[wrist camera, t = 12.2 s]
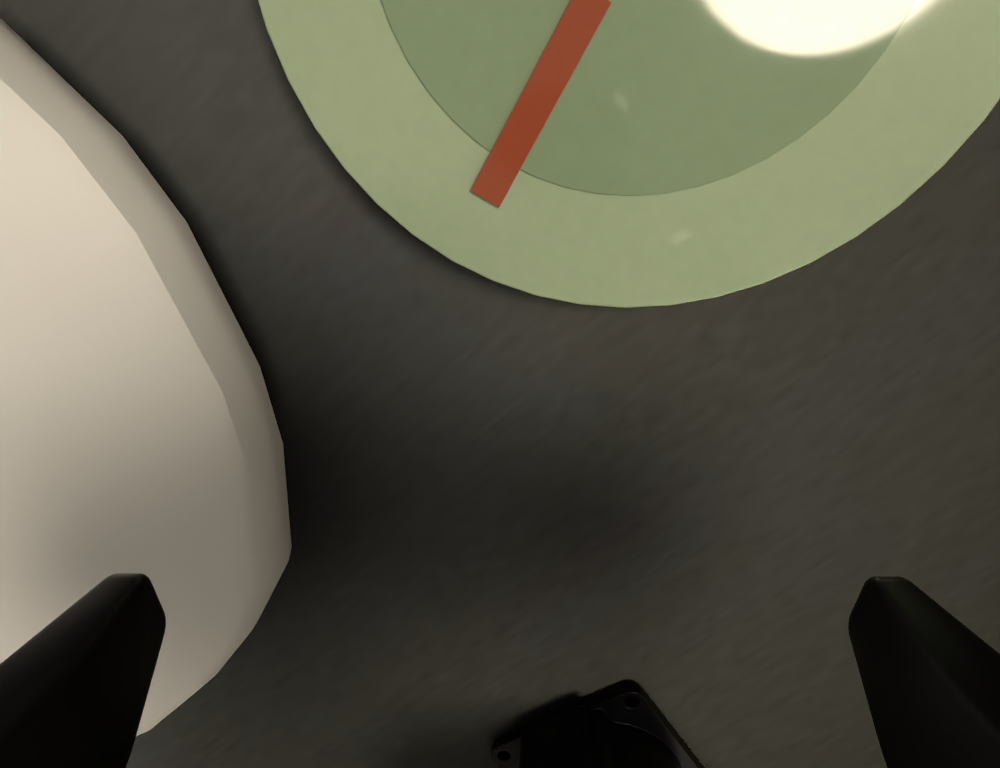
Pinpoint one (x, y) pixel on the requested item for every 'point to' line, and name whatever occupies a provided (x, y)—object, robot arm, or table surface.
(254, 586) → the white round disc
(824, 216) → the green disc with post
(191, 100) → the table surface
